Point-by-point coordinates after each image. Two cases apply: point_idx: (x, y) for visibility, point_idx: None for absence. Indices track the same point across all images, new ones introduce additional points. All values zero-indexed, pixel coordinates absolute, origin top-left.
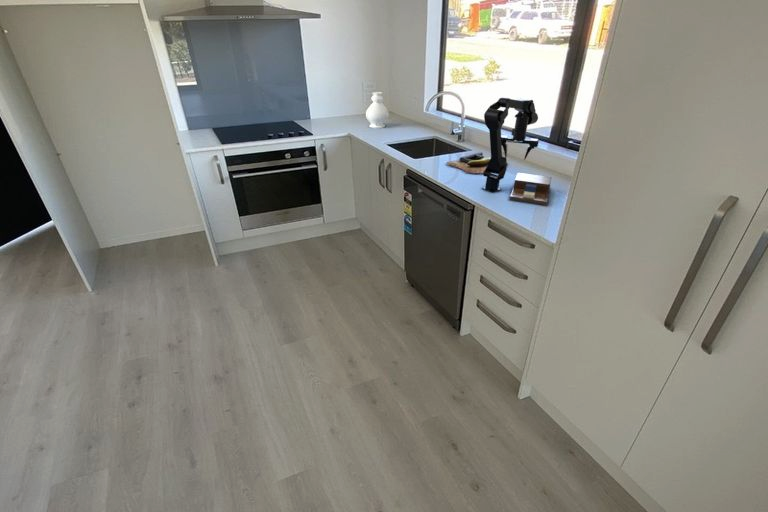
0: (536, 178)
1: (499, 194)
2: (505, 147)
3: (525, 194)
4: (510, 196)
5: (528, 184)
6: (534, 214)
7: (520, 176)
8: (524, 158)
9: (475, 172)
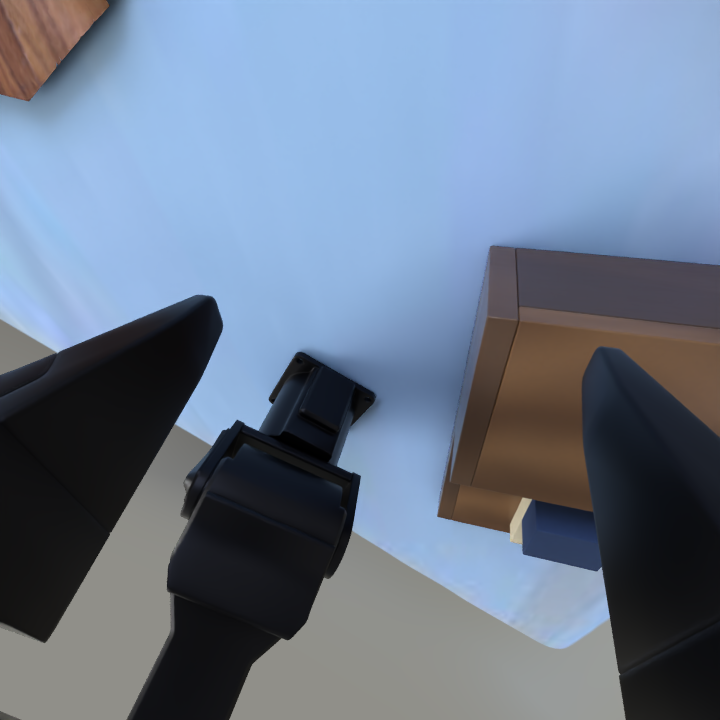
0: None
1: (381, 445)
2: (81, 555)
3: (520, 542)
4: (439, 516)
5: (550, 540)
6: (545, 580)
7: (506, 418)
8: (583, 408)
9: (20, 52)
